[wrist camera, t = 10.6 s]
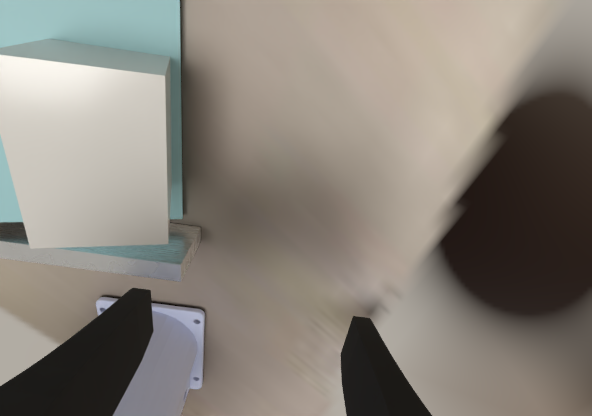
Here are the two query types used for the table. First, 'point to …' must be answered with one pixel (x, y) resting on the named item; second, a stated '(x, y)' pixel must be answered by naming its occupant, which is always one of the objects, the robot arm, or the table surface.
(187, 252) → the frame
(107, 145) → the stone block
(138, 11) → the trapdoor
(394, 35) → the table surface
